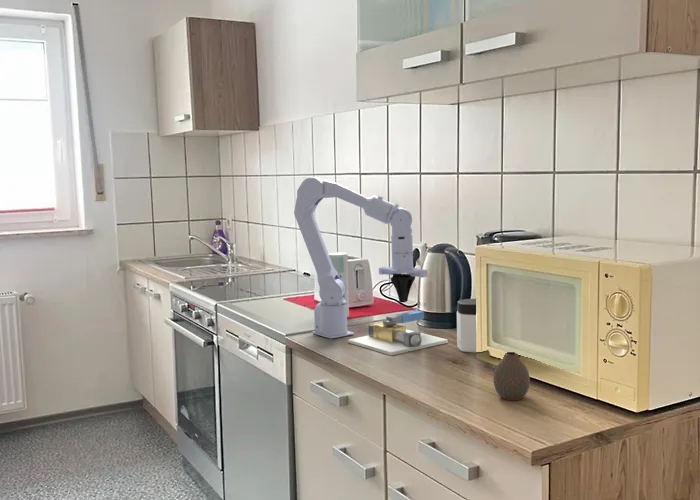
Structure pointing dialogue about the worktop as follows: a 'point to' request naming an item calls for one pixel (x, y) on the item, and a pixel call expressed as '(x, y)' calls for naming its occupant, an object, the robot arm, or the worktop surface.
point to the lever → (403, 318)
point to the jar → (466, 325)
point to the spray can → (341, 271)
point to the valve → (394, 334)
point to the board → (396, 344)
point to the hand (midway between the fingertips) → (403, 301)
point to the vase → (511, 377)
